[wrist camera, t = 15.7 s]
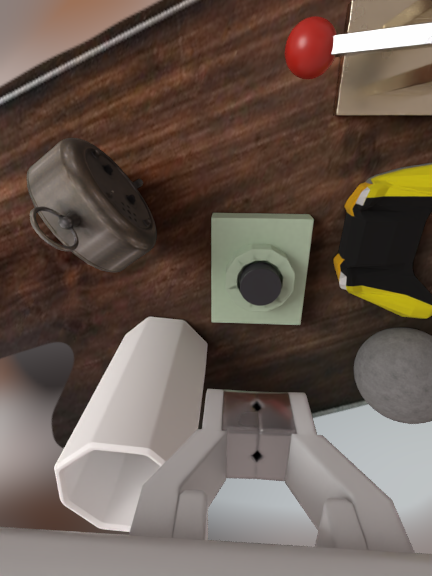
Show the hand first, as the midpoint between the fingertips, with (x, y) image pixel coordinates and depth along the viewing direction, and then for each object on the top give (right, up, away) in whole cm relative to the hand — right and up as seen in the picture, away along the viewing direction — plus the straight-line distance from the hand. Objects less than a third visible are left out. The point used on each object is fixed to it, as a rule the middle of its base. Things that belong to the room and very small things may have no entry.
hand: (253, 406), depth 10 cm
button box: (+3, +6, +27) cm, 28 cm away
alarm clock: (-10, +14, +24) cm, 30 cm away
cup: (-8, -4, +33) cm, 34 cm away
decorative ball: (+19, -3, +31) cm, 36 cm away
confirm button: (+3, +4, +24) cm, 24 cm away
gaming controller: (+16, +9, +25) cm, 31 cm away
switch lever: (+11, +20, +12) cm, 26 cm away
